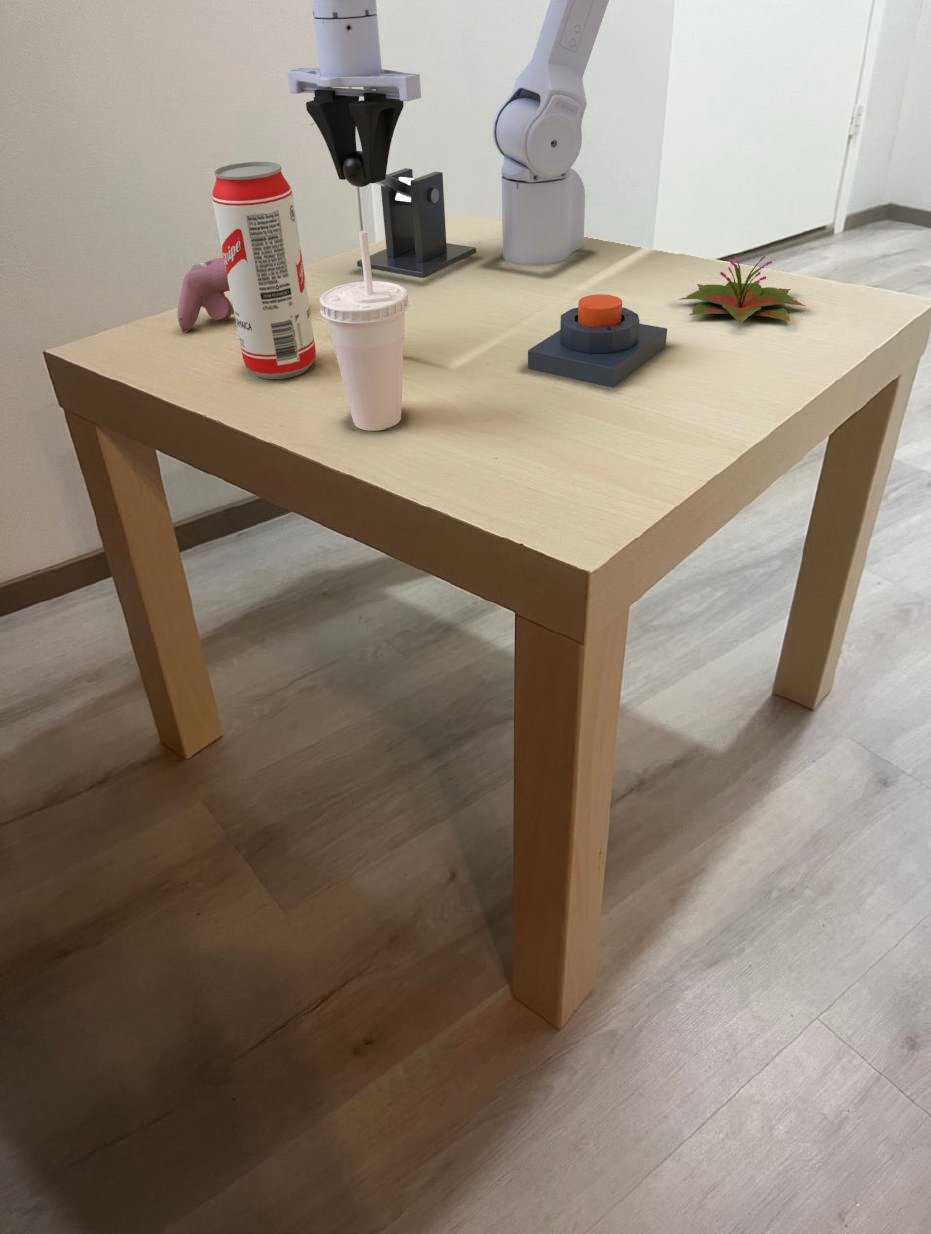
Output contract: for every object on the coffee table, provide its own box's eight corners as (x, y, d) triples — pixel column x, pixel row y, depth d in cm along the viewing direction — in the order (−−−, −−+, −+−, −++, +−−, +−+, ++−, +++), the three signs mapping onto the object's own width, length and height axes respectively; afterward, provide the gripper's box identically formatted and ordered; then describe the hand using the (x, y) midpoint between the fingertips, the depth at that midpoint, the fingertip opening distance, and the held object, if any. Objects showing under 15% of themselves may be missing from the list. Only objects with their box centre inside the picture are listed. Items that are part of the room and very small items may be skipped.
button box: (585, 331, 85) (586, 293, 83) (665, 347, 81) (669, 307, 79) (527, 369, 79) (527, 329, 77) (612, 388, 75) (614, 346, 73)
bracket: (423, 284, 98) (416, 189, 92) (357, 272, 102) (347, 181, 97) (476, 258, 104) (473, 168, 99) (412, 248, 109) (406, 161, 103)
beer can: (257, 388, 78) (219, 183, 68) (236, 363, 83) (197, 167, 73) (328, 372, 80) (300, 170, 71) (303, 349, 85) (274, 156, 75)
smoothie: (386, 445, 69) (365, 249, 60) (318, 428, 72) (289, 238, 63) (434, 412, 73) (421, 224, 64) (368, 396, 76) (348, 214, 67)
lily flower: (681, 285, 94) (686, 238, 91) (806, 291, 91) (815, 242, 88) (669, 328, 85) (674, 277, 82) (807, 335, 82) (817, 282, 79)
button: (590, 312, 80) (591, 291, 79) (628, 319, 78) (629, 298, 77) (569, 325, 78) (570, 304, 77) (608, 332, 76) (609, 311, 75)
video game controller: (288, 335, 92) (286, 260, 91) (274, 329, 88) (272, 251, 86) (192, 335, 93) (188, 262, 92) (173, 330, 89) (169, 252, 87)
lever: (358, 183, 90) (364, 148, 89) (333, 180, 91) (339, 145, 90) (429, 213, 100) (435, 181, 99) (405, 210, 101) (411, 179, 100)
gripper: (256, 19, 85) (280, 181, 93) (380, 22, 78) (394, 196, 86) (308, 12, 89) (327, 166, 97) (430, 13, 82) (439, 179, 91)
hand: (362, 179), depth 92 cm, fingers closed on lever, 3 cm apart
